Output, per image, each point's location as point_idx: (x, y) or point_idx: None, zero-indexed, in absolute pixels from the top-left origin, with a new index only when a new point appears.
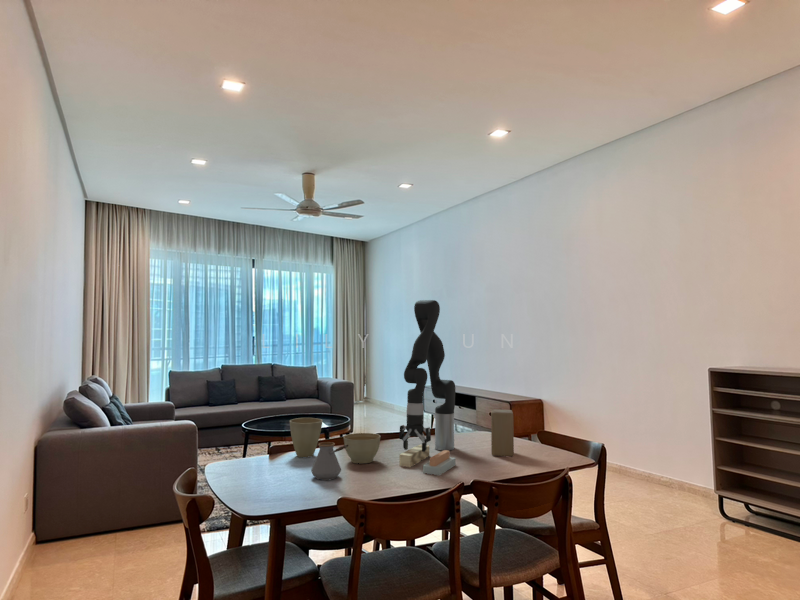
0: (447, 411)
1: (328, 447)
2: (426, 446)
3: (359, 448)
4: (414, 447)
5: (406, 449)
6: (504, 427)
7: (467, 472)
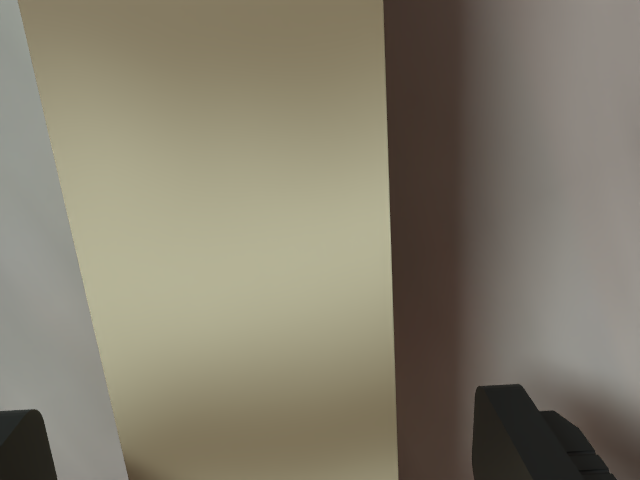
0: None
1: None
2: (612, 478)
3: None
4: (90, 203)
5: (51, 464)
6: None
7: None
